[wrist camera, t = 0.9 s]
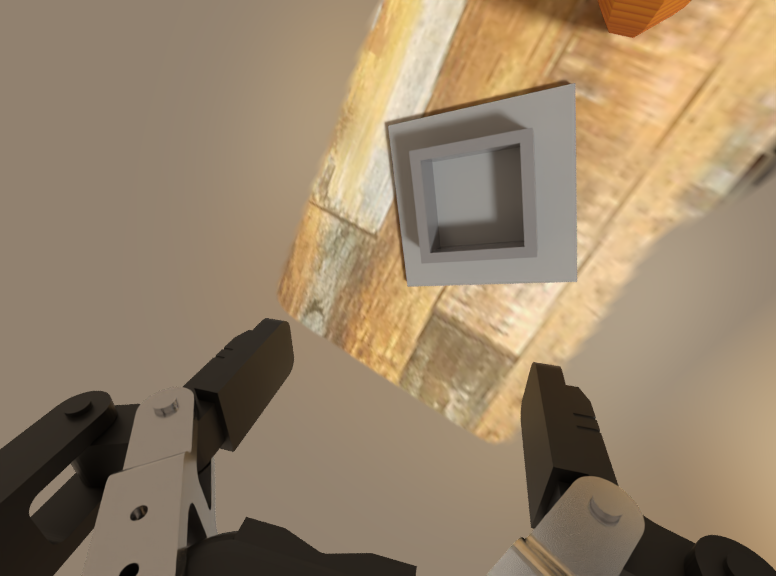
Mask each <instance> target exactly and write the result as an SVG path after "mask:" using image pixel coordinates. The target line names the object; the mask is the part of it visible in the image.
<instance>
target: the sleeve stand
mask: <svg viewBox="0 0 776 576" xmlns="http://www.w3.org/2000/svg"><path fill="white" fill-rule="evenodd" d="M388 130H389V138H390V146H391V154H392V162H393V171H394V179H395V187H396V195H397V203H398V212H399V220H400V228H401V236H402V244H403V253H404V261H405V269H406V277H407V285H408V287H409V286H444V285H479V284H514V283H549V282H577V212H576V107H575V83H573V84H569V85H564V86H560V87H556V88H551V89H547V90H542V91H538V92H534V93H529V94H525V95H520V96H516V97H512V98H507V99H503V100H499V101H494V102H490V103H485V104H481V105H477V106H472V107H468V108H464V109H459V110H455V111H450V112H446V113H442V114H437V115H433V116H429V117H424V118H420V119H415V120H411V121H407V122H402V123H398V124H393V125H389V126H388Z"/></svg>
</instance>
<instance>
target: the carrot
mask: <svg viewBox="0 0 776 576" xmlns="http://www.w3.org/2000/svg"><path fill="white" fill-rule="evenodd" d="M690 1H691V0H598V3H599V6H600V9H601V12H602V15H603V18H604V20H605V23H606V26H607V29H608V31H609V33H613V34H618V35H622V36H627V37H631V38H633V37H635V36H637V35H639V34H641V33H642V32H644V31H646V30H648V29H649V28H651V27H653V26H655V25H656V24H658V23H660V22H662V21H663V20H665V19H667V18H669V17H670V16H672V15H674V14H675V13H677V12H678V11H679V10H681V9H682V8H684V7H685V6H686V5H687V4H688V3H689V2H690Z"/></svg>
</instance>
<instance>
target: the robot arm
mask: <svg viewBox="0 0 776 576" xmlns="http://www.w3.org/2000/svg"><path fill="white" fill-rule="evenodd" d="M293 363H294V354H293V346H292V339H291V332H290V326H289V323H288V322H287V321H281V320H275V319H269V318H265V319H264V320H262V321H261V322H260V323H259V324H258V325H257V326H256V327H255V328H254V329H253V330H248V331H246V332H244V333H242V334H241V335H238V336H237V337H235V338H234V339H233V340H232V341H230V342H229V343H228V344H227V345H226V346H225V347H224V350H221V351H220V352H219V353H218V354H217V355H216V357H215V358H213V359H212V360H211V361H209V363H207V364H206V365H205V366H204V367H203V368H202V369H201V370H200V371H199V372H198V373H197V374H196V375H195V376H194V377H192V379H190V380H189V381H188V382H187V383H186V384H185V385H184V386H183V387H172V388H168V389H164V390H161V391H159V392H157V393H154V394H153V395H151V396H149V397H148V398H147V399H145V400H144V401H143V402H142V403H141V404H130V405H114V403H113V401H112V399H111V397H110V395H109V394H108V393H106V392H103V391H90V392H86V393H82V394H79V395H76V396H74V397H71V398H69V399H67V400H66V401H64V402H62V403H61V404H60V405H58V406H56V407H55V408H54V409H53V410H51V411H50V412H49V413H47V414H46V415H45V416H43V417H42V418H41V419H40V420H38V421H37V422H36V423H34V424H33V425H32V426H30V427H29V428H28V429H26V430H25V431H24V432H22V433H21V434H20V435H18V436H17V437H16V438H15V439H13V440H12V441H11V442H9V443H8V444H7V445H6V446H4V447H3V448H1V449H0V576H53V575H54V574H55V573H56V572H57V571H58V570H59V568H60V567H61V566H62V565H63V563H64V562H65V561H66V560H67V559H68V558H69V557H70V555H71V554H72V553H73V552H74V551H75V550H76V548H77V547H78V546H79V545H80V544H81V543H82V541H83V540H84V539H85V538H86V537H87V536H88V534H89V533H90V532H91V531H92V530H93V529H94V531H93V535H92V538H91V542H90V547H89V550H88V554H87V557H86V561H85V565H84V569H83V572H82V576H416V568H417V566H414V565H410V564H407V563H403V562H400V561H397V560H393V559H389V558H386V557H383V556H379V555H376V554H372V553H356V554H355V553H349V554H325V553H321V552H319V551H317V550H316V549H314V548H313V547H312V546H310V545H309V544H307V543H306V542H304V541H303V540H301V539H300V538H299V537H297V536H296V535H294V534H293V533H291V532H290V531H288V530H287V529H285V528H283V527H279V526H276V525H272V524H269V523H265V522H261V521H258V520H255V519H252V518H248V517H246V518H245V520H244V522H243V524H242V525H241V527H240V529H239V531H233V532H227V533H222V534H218V532H217V527H216V516H215V515H216V514H215V462H214V458H213V456H214V455H215V454H216V452H217V451H218V450H219V448H221V449H224V450H228V451H232V452H233V451H235V450H236V448H237V447H238V445H239V444H240V442H241V441H242V440H243V438H244V437H245V436H246V434H247V433H248V431H249V430H250V429H251V427H252V426H253V425H254V423H255V422H256V420H257V419H258V418H259V416H260V415H261V413H262V412H263V411H264V409H265V408H266V406H267V405H268V404H269V402H270V401H271V399H272V398H273V397H274V395H275V394H276V392H277V391H278V390H279V388H280V386H282V384H283V383H284V381H285V380H286V378H287V377H288V376H289V374H290V372H291V370H292V367H293ZM595 418H596V417H595V414H594V411H593V408H592V405H591V402H590V401H589V399H588V398H587V397H586V396H585V395H584V393H583V392H582V391H581V390H580V389H579V387H574V386H568V385H565V380H564V377H563V373H562V369H561V367H560V366H554V365H548V364H542V363H536V362H533V363H532V366H531V369H530V373H529V376H528V380H527V384H526V388H525V392H524V395H523V399H522V405H521V428H522V439H523V448H524V459H525V469H526V480H527V490H528V501H529V511H530V522H531V528H533V529H534V530H533V531H532V533H531V534H530V535H529V536H528V537H527V538H525V539H524V538H519V539H518V540H517V541H516V542H515V543H514V544H513V545H512V546H511V547H510V548H509V549H508V551H507V552H506V553H505V554H504V555H503V556H502V558H501V559H500V560H499V561H498V562H497V563H496V565H495V566H494V567H493V568H492V569H491V570H490V571H489V573H488V574H487V575H486V576H776V571H775V570H774V569H773V567H771V566H770V565H769V564H768V563H767V562H766V561H765V560H764V559H763V558H761V557H760V556H759V555H758V554H756V553H755V552H753V551H752V550H750V549H749V548H747V547H746V546H744V545H742V544H740V543H738V542H736V541H734V540H732V539H729V538H726V537H722V536H718V535H708V536H704V537H702V538H700V539H699V540H698V541H697V543H696V544H695V543H693V542H691V541H689V540H687V539H685V538H683V537H681V536H679V535H677V534H675V533H673V532H671V531H669V530H667V529H665V528H663V527H661V526H659V525H658V524H656V523H654V522H652V521H651V520H649V519H648V518H646V517H645V516H644V515H642V512H641V510H640V508H639V507H638V505H637V504H636V502H635V501H634V500H633V499H632V498H631V496H629V495H628V494H627V493H626V492H625V491H624V490H623V489H621V488H620V487H619V486H618V483H617V480H616V477H615V474H614V471H613V468H612V465H611V462H610V459H609V456H608V453H607V450H606V447H605V444H604V441H603V438H602V435H601V433H600V429H599V426H598V423H597V420H595ZM70 463H71V465H72V467H73V468H74V470H75V472H76V473H75V474H74V475H73V476H72V477H71V479H69V480H68V481H67V482H66V483H65V484H64V485H63V486H62V487H61V488H60V489H59V490H58V491H57V492H56V493H55V494H54V495H53V496H52V497H51V498H50V499H49V500H48V501H47V502H46V503H45V504H44V505H43V506H42V507H41V508H40V509H39V510H38V511H36V512H35V513H34V514H33V515H32V516H31V517H30V516H29V508H30V505H31V503H32V501H33V500H34V498H35V497H36V496H37V494H38V493H39V492H40V491H41V490H43V489H44V488H45V487H46V486H47V485H48V484H49V483H50V482H51V481H52V480H53V479H54V478H55V477H56V476H57V475H59V474H60V473H61V472H62V471H63V470H64V469H65V468H66V467H67V466H68V465H69V464H70Z"/></svg>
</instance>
